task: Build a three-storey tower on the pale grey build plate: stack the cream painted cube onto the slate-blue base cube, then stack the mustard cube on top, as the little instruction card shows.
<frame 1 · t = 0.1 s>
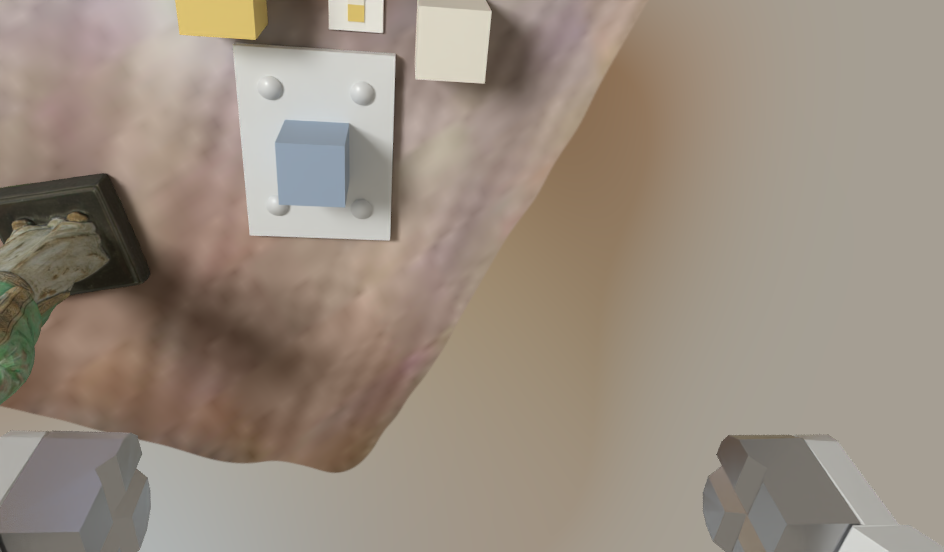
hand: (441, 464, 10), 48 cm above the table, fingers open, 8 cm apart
figurine: (72, 233, 59), on the table
build plate: (319, 147, 57), on the table
block a: (318, 151, 56), point 1 cm above the table, touching build plate
block b: (449, 29, 53), on the table
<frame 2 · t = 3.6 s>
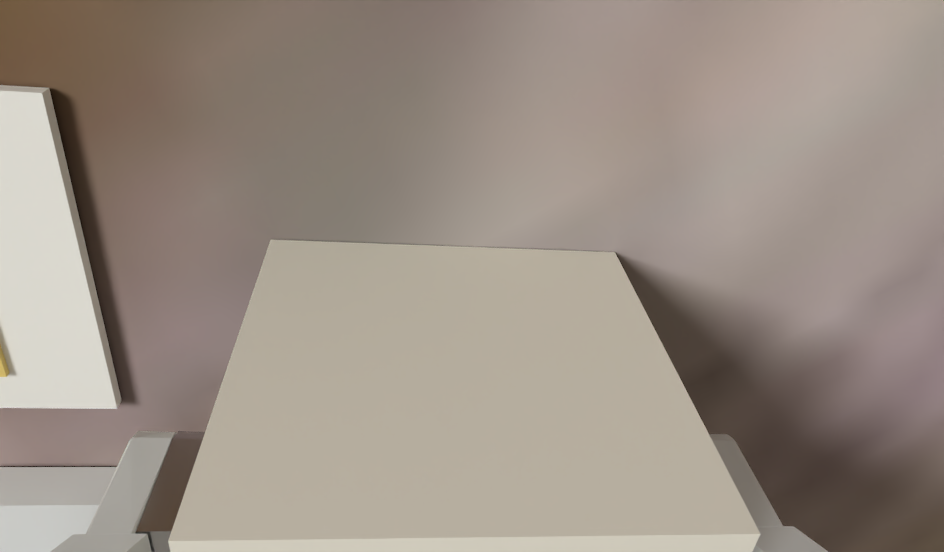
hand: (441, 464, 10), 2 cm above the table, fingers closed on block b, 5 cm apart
block b: (437, 379, 11), on the table, touching gripper
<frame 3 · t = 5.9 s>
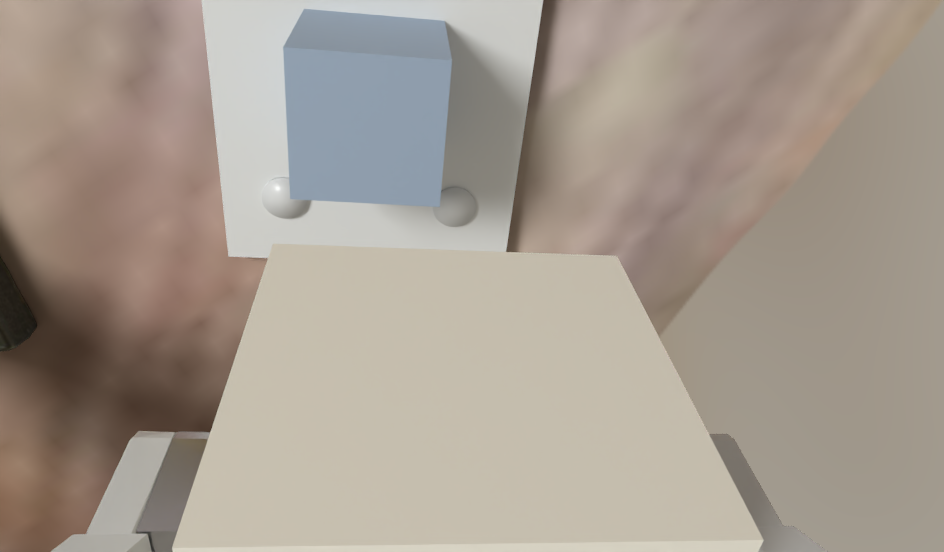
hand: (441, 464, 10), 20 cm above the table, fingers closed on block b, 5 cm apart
build plate: (374, 76, 27), on the table
block a: (373, 83, 26), point 1 cm above the table, touching build plate
block b: (439, 382, 11), point 18 cm above the table, touching gripper
when the fingers open (9 cm above the table, at t = 8.5 s): block b drops 1 cm, resting on block a.
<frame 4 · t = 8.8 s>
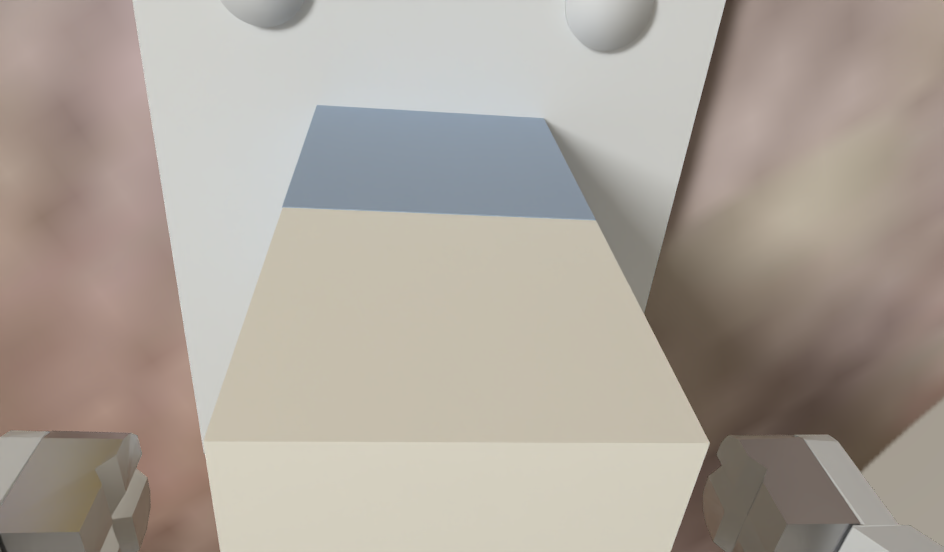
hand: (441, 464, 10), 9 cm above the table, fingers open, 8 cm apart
build plate: (425, 199, 17), on the table
block a: (426, 213, 17), point 1 cm above the table, touching block b, build plate
block b: (434, 340, 12), point 6 cm above the table, touching block a
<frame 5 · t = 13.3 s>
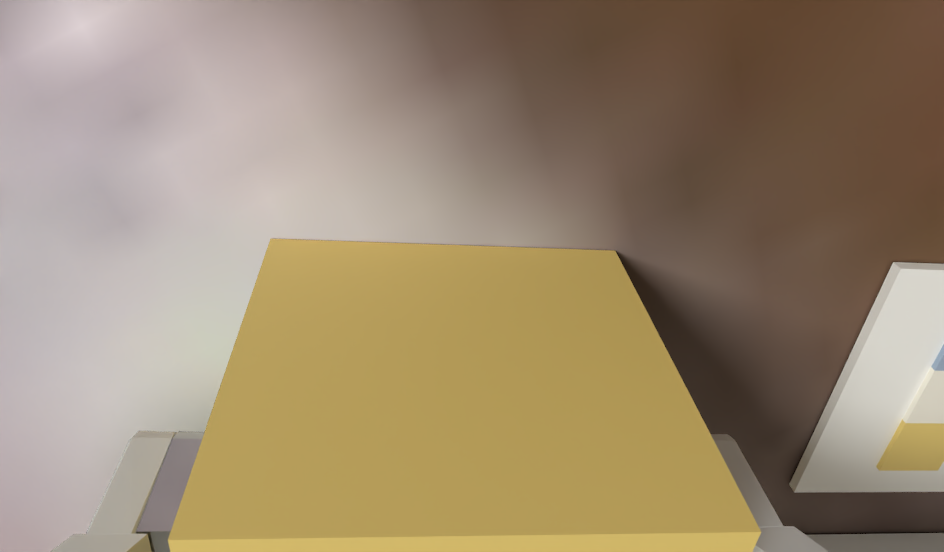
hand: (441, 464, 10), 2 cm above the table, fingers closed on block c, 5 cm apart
block c: (437, 378, 11), on the table, touching gripper
instruction card: (940, 386, 12), on the table
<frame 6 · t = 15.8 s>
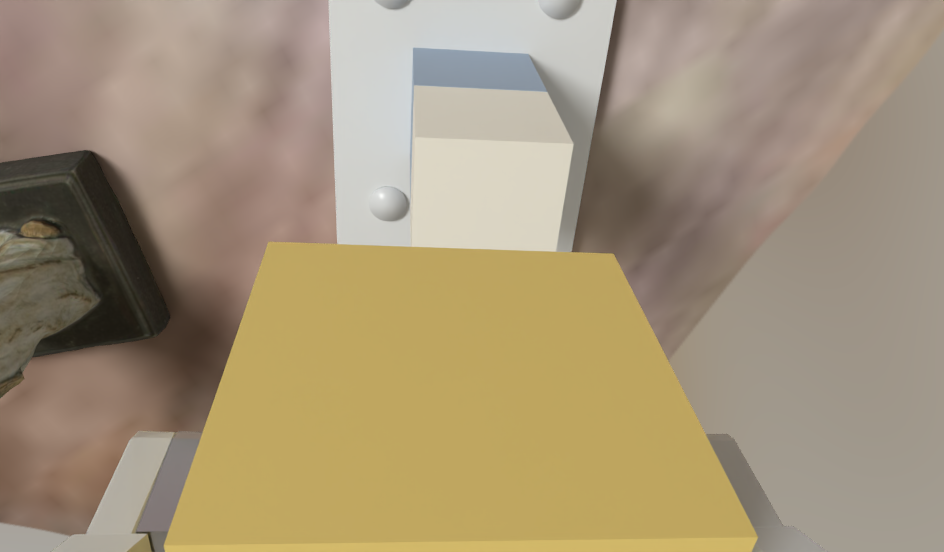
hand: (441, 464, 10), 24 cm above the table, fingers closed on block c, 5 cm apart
figurine: (37, 253, 35), on the table
build plate: (465, 100, 32), on the table
block c: (435, 381, 11), point 23 cm above the table, touching gripper
block a: (466, 106, 31), point 1 cm above the table, touching block b, build plate
block b: (476, 151, 27), point 6 cm above the table, touching block a
when the fingers open (14 cm above the table, at t = 18.2 s): block c drops 1 cm, resting on block b.
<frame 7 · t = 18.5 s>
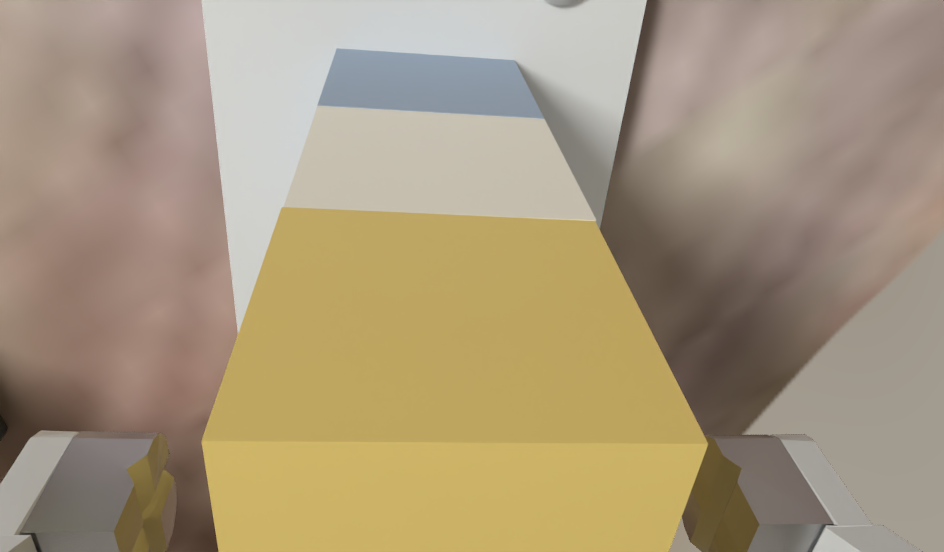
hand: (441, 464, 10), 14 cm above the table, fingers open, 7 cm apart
build plate: (421, 129, 21), on the table
block c: (432, 340, 12), point 11 cm above the table, touching block b
block a: (422, 139, 21), point 1 cm above the table, touching block b, build plate
block b: (427, 214, 17), point 6 cm above the table, touching block a, block c
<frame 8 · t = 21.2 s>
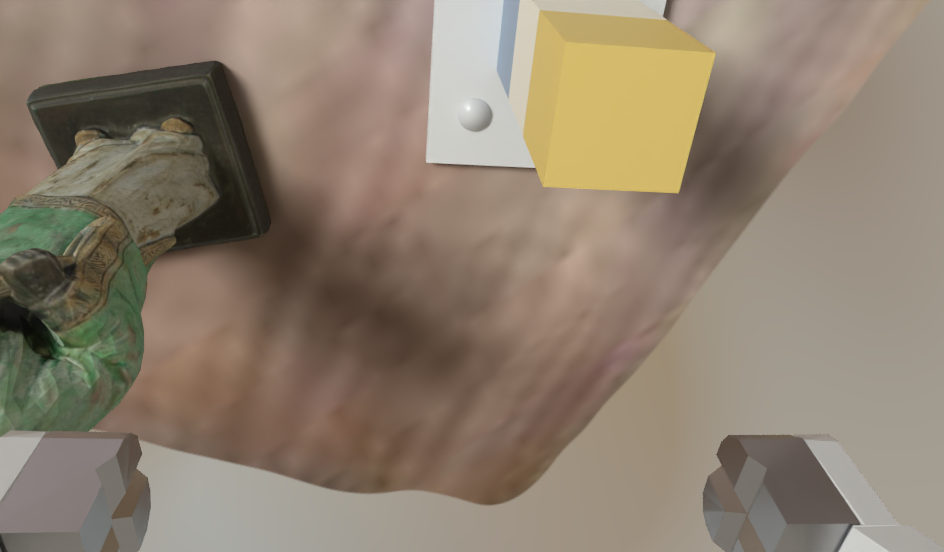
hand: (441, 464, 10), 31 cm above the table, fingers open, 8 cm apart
figurine: (160, 159, 39), on the table
build plate: (546, 21, 37), on the table
block c: (592, 80, 28), point 11 cm above the table, touching block b
block a: (548, 24, 36), point 1 cm above the table, touching block b, build plate
block b: (567, 49, 32), point 6 cm above the table, touching block a, block c
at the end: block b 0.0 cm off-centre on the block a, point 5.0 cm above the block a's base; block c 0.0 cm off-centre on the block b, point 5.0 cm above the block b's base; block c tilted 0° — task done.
